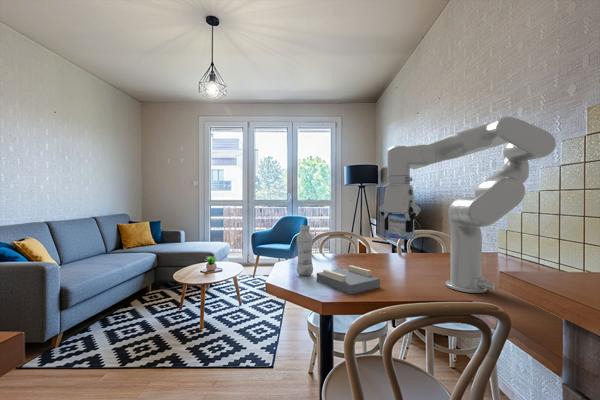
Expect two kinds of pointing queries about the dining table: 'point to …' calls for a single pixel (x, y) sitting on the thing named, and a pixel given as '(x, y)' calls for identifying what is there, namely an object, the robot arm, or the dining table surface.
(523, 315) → the dining table surface
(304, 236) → the plastic bottle
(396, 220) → the medicine box
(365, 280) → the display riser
